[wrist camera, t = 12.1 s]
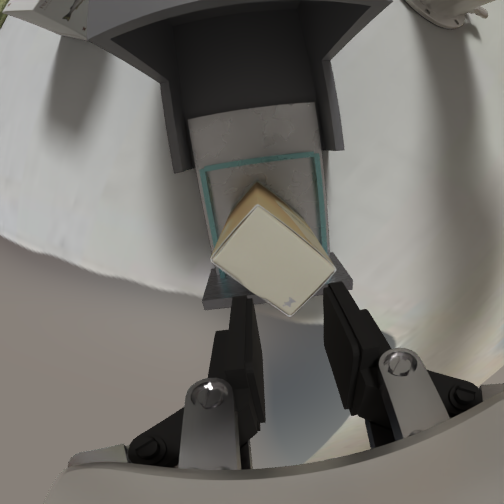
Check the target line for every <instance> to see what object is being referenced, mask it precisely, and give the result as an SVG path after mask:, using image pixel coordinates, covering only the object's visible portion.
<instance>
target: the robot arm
mask: <svg viewBox="0 0 504 504" xmlns="http://www.w3.org/2000/svg"><path fill="white" fill-rule="evenodd" d="M405 1H406V2H407V3H408V4H409V5H410V6H411V7H412V8H413V9H414V10H415V11H417V12H418V13H419V14H420V15H421V16H423V17H424V18H426V19H427V20H429V21H430V22H432V23H434V24H436V25H438V26H440V27H442V28H446V29H455V28H458V27H460V26H462V25H463V24H464V22H465V14H466V13H471V14H472V13H475V14H476V15H478V16H480V17H482V18H484V19H486V18H487V17H488V12H487V11H486V9H484V8H482V7H480V6H482V5H484V4H487V3H489V2H492V1H495V0H405ZM323 306H324V346H325V350H326V353H327V356H328V359H329V362H330V365H331V368H332V371H333V375H334V378H335V381H336V384H337V387H338V391H339V394H340V397H341V400H342V404H343V407H344V409H349V410H350V413H351V416H354V415H358V416H359V417H362V418H364V419H365V424H366V429H367V433H368V438H369V442H370V447H371V449H370V450H366V451H363V452H359V453H355V454H351V455H347V456H343V457H338V458H334V459H329V460H324V461H319V462H313V463H307V464H300V465H293V466H285V467H275V468H265V469H253V467H252V457H251V447H250V440H249V439H250V438H252V437H253V436H254V435H255V434H256V433H257V431H260V423H263V422H265V399H264V379H263V359H262V350H261V344H260V338H259V332H258V327H257V321H256V315H255V309H254V303H253V298H247V295H243V296H235V297H232V305H231V314H230V323H229V330H222V331H216V333H215V338H214V344H213V349H212V356H211V361H210V367H209V374H208V378H206V379H202V380H200V381H198V382H196V383H195V384H193V385H192V386H191V387H190V388H189V390H188V391H187V394H186V398H185V407H184V408H182V409H180V410H179V411H177V412H176V413H174V414H173V415H171V416H169V417H168V418H166V419H165V420H163V421H162V422H160V423H158V424H157V425H155V426H154V427H152V428H150V429H149V430H147V431H145V432H144V433H142V434H140V435H139V436H137V437H136V438H135V439H133V441H132V442H131V444H130V445H128V446H125V445H124V444H120V445H115V446H111V447H107V448H102V449H97V450H92V451H86V452H81V453H78V454H75V455H74V456H73V457H71V459H70V461H69V462H68V468H67V469H65V470H63V471H62V472H61V473H60V474H59V475H58V477H57V478H56V479H55V481H54V482H53V484H52V486H51V488H50V490H49V492H48V494H47V496H46V499H45V501H44V503H43V504H504V383H503V384H490V385H481V386H480V388H478V387H477V386H475V385H474V384H473V383H470V382H468V381H464V380H461V379H457V378H453V377H450V376H446V375H443V374H439V373H436V372H432V371H429V370H426V368H425V366H424V364H423V362H422V360H421V359H420V357H419V356H418V355H417V354H416V353H415V352H413V351H412V350H409V349H406V348H393V349H391V348H390V346H389V344H388V342H387V341H386V339H385V337H384V336H383V334H382V332H381V331H380V329H379V327H378V326H377V324H376V323H375V321H374V319H373V318H372V316H371V315H370V313H369V311H368V310H367V309H363V310H360V309H359V308H358V306H357V304H356V303H355V301H354V299H353V298H352V296H351V295H350V293H349V291H348V290H347V288H346V286H345V285H344V283H343V282H342V281H339V282H333V283H328V287H325V288H323Z"/></svg>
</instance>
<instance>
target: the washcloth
mask: <svg viewBox="0 0 504 504" xmlns="http://www.w3.org/2000/svg"><path fill="white" fill-rule="evenodd" d="M9 1H10V0H0V28H1V26H2V25H3V22H4V20H5V19H6V17H7V14H4V13H2V11H3V10H4V8H5V7H6V5H7V4H8V2H9Z"/></svg>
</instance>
